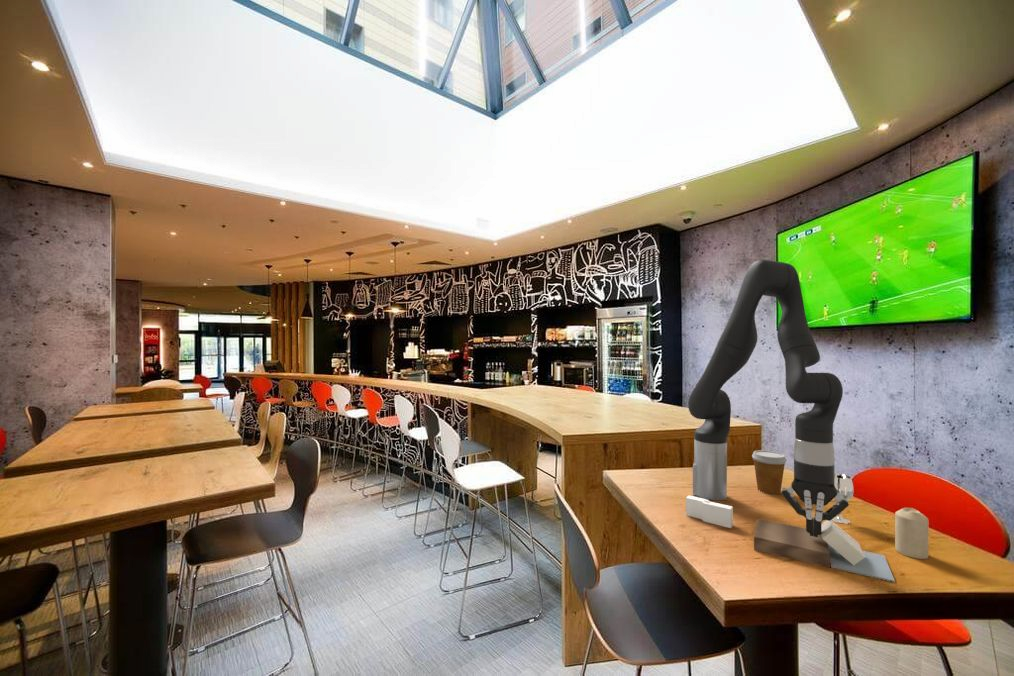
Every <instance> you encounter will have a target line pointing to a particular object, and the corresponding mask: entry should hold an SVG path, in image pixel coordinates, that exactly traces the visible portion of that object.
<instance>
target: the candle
mask: <svg viewBox="0 0 1014 676" xmlns="http://www.w3.org/2000/svg"><path fill="white" fill-rule="evenodd" d="M894 514H895V515H894V516H895V517H894V518H895V519H894V520H895V521H894V524H895V528H894V530H895V531H894V539H895V541H894V543H895V544H894V545H895V546H894V547H895V551H896V552H897V553H899V554H901V555H903V556H906V557H909V558H913V559H917V560H918V559H919V560H926V559H927V560H928V558H929V554H930V553H929V547H930V546H929V536H930V535H929V528H930V527H929V524H930V523H929V518H928V517H927V516H925V514H924V513H921V512H920V511H919V510H917V509H916V508H913V507H903V508H901V509H898V510H897V511H895V513H894Z"/></svg>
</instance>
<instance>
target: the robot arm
mask: <svg viewBox="0 0 1014 676" xmlns="http://www.w3.org/2000/svg"><path fill="white" fill-rule="evenodd" d="M802 293H803V292H802V287H801V281H800V278H799V274H798V271H797V270H796V268H795V267H794V265H792V264H790V263H788V262H783V261H774V260H768V259H758V260H755V261H754V262H753V263H752V264H750V265H749V267H748V269H747V271H746V273H745V275H744V277H743V279H742V283H741V286H740V288H739V292H738V294H737V298H736V301H735V302H734V303H735V304H734V306H733V309H732V311H731V313H730V315H729V318H728V320H727V323H726V325H725V327H724V329H723V330H722V333H721V335H720V337H719V339H718V341H717V342H716V346H715V349H714V351H713V353H712V355H711V357H710V359H709V361H708V363H707V365H706V367H705V369H704V372H703V373H702V375H701V376H700V379H699V380H698V381H697V383H696V385H695V386H694V388H693V390H692V391H691V392H690V393H691V394H690V396H689V398H688V403H687V406H688V408H687V409H688V411H689V413H690V415H691V416H692V417H693V418H695V419H698V420H704V422H703V424H702V425H700V426H698V427H697V428H696V429H695V430H694V434H693V435H694V437H693V438H694V439H693V440H694V445H693V447H694V448H693V451H694V452H693V453H694V457H693V458H694V459H693V464H692V496H695V497H698V498H703V499H706V500H709V501H724V500H726V499H727V497H728V495H727V494H728V489H727V488H728V452H727V451H728V436H729V434H730V430H731V412H732V409H731V408H732V405H731V400H730V397H729V395H728V393H727V392H726V391H724V390H723V389H722V387H723V386H724V385H725V384H726V383H727V382H728V381H729V380H730V379H731V378H733V377H734V376H735V375H737V373H738V372H739V371H740V370H742V368H743V367H744V366H746V364H747V363H748V361H749V359H750V358H751V356H752V354H753V352H754V350H755V349H756V346H757V343H758V332H757V331H758V330H757V324H756V318H755V317H756V310H757V309H758V305H759V303H760V301H761V299H762V297H763V296H767V297H773V298H774V297H775V298H776V300H777V302H778V304H779V305H780V309H781V316H780V320H779V322H778V326H777V333H776V334H777V335H776V336H777V342H778V345H779V348H780V350H781V353H782V356H783V359H784V364H785V391H786V393H787V395H788V396H789V398H790V399H791V400H792V401H794V402H796V403H798V404H813V406H812V408H811V410H808V411H805V412H801V413H799V414H797V415H796V416H795V420H794V421H795V423H794V427H795V429H794V430H795V434H794V435H795V436H794V438H795V439H794V444H793V479H792V482H791V485H790V486H788V487H782V488H781V495H782V496H783V498H784V499H785V501H787V503H788V504H789V505H790V506H791V508H792V509H793V510H794V511H795V513H796V514H797V515H799V516H802V517H804V518H805V528H806V531H807V533H810V536H814V537H818V535H821V525H822V524H823V521H827V520H828V521H832V519H833V518H834V517H837V516H838V515H839V513H840V512H841V513H842V512H843V511H845V509H847V507H849V505H850V504H849V501H848V500H847V499H846V498H843V497H841V496H840V495H839V494H837V489H836V488H835V484H834V473H835V461H836V457H835V448H834V422H835V419H836V417H837V413H838V410H839V407H840V405H841V402H842V398H843V393H844V391H843V389H844V388H843V384H842V382H841V381H840V379H839V377H837V376H836V375H835V374H833V373H831V372H807V370H806V368H808V367H812V366H814V365H816V364H817V363H818V362H820V361H821V360H820V359H821V355H820V351H819V349H818V346H817V344H816V341H815V339H814V337H813V334H812V332H811V329H810V327H809V326H810V325H809V323H808V319H807V315H806V309H805V302H804V299H803V294H802ZM795 493H796V495H797V496H798V498H799V499H800V500H801V501H802V502H803V503H804V507H805V508H803V507H802V506H801V504H800V503H799V502H798V501H797V499H796V498H795ZM833 500H834V501H833ZM832 501H833V502H834V503H833V505H832V506H831V507H829V509H827V510H826V511H825V512H824V506H827V505H829V503H830V502H832ZM813 505H815V510H814V511H815V512H814V517H813V508H812V507H813Z"/></svg>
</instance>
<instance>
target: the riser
mask: <svg viewBox="0 0 1014 676" xmlns="http://www.w3.org/2000/svg"><path fill="white" fill-rule="evenodd" d="M754 530H755V531H754V534H753V550H755V551H759V552H762V553H767V554H770V555H775V556H779V557H784V558H788V559H792V560H796V561H800V562H803V563H808V564H812V565H816V566H819V567H820V566H821V567H824V568H829V569H830V567H831V564H830V554H829V548H828V543H827V542H826V541H825V540H823V539H822V536H821V535H818V537H814V536H810V533H807V531H806V527H800V526H795V525H791V524H786V523H782V522H777V521H771V520H768V519H763V518H757V521H756V526H755V529H754Z"/></svg>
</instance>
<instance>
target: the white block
mask: <svg viewBox="0 0 1014 676" xmlns="http://www.w3.org/2000/svg"><path fill="white" fill-rule="evenodd" d="M821 536H822V539H823V540H825V541H826V542H827V543H828V544H829V545H830V546H832V547H833V548H834V549H835V550H836V551H837V552H839V553H840V554H841V555H842V556H843V557H844V558H845V559H847V560H848V561H849V562H850V563H851V564H852V565H855V564H856V563H858V562H859V561H861V560H862V559H863V558H865V556H864V554H863V551H864V550H862V548H861V545H860V543H859V541H857V540H855V539H854V538H853V537H852V536H851V535H849V533H847V532H846V531H845V530H843V529H842V528H841V527H840V526H838V525H837V524H836V522H835V521H832V520H831V521H828V520H824V522H822V523H821Z"/></svg>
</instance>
